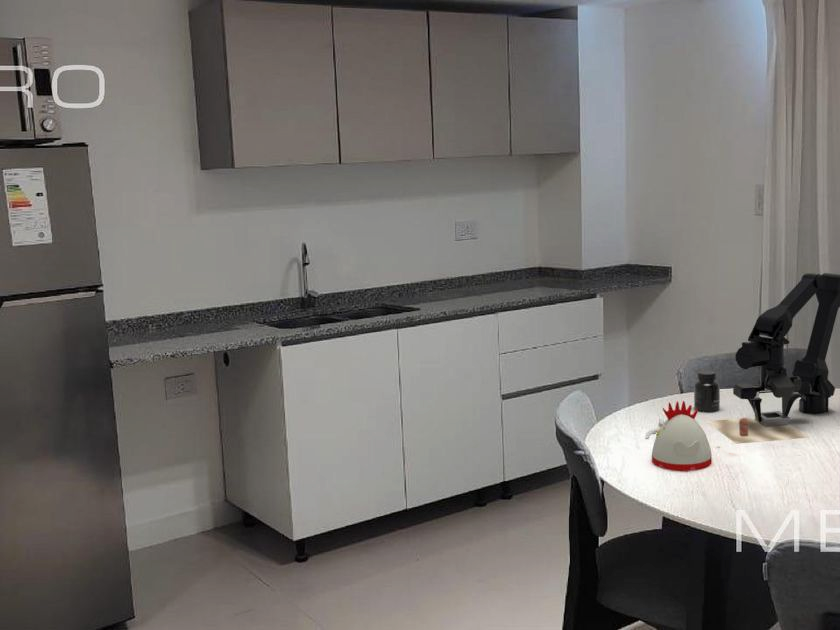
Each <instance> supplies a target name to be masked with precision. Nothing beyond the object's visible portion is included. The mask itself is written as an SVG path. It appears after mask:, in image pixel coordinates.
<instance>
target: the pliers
mask: <svg viewBox="0 0 840 630" xmlns="http://www.w3.org/2000/svg"><path fill="white" fill-rule="evenodd" d="M664 422H665V421H664V420H663V419H662V418H659V419H658V424H659V425H660V426H659V427H657V428H654V429H651V430H649V431H647V433H645V436H644V437H646V438H645V440H646V439H648V440H649V438H650V437H651V436H652V435H656V433H658V431H659V429H660V427H661V425H662V424H663V423H664ZM651 434H652V435H651ZM650 435H651V436H650ZM649 436H650V437H649Z"/></svg>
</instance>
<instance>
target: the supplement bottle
mask: <svg viewBox="0 0 840 630" xmlns="http://www.w3.org/2000/svg"><path fill="white" fill-rule="evenodd" d="M716 380H717V373H716V372H715V371H713V370H712V371H711V370H700V371H697V381H695V383H694V385H693V389H694V391H693V392H694V393H693V394H694V396H693V397H694V399H693V401H694V402H693V405H694V406H693V407H694V411H695V410H696V409H697V410H698V412H699V413H707V414H710V413H716V412H719V411H720V409H721V405H720V404H721V403H720V399H721V396H720V394H721V393H720V390H721V389H720V388H721V387H720V383H719V382H718V381H716ZM698 412H697V413H698Z"/></svg>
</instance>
